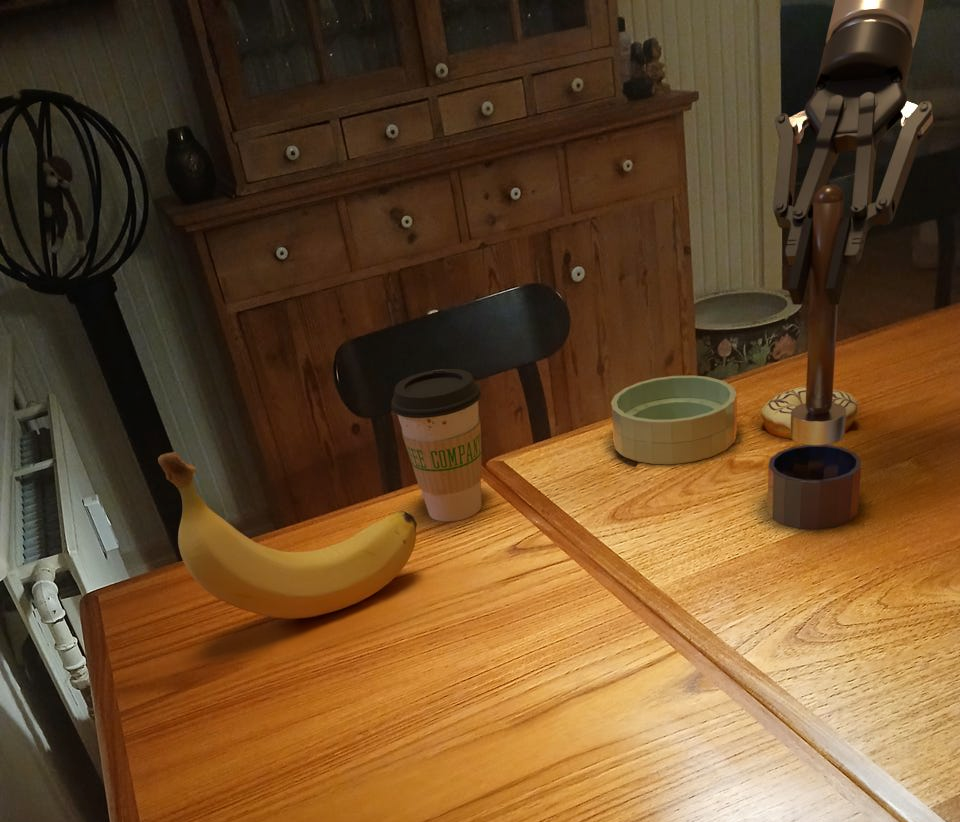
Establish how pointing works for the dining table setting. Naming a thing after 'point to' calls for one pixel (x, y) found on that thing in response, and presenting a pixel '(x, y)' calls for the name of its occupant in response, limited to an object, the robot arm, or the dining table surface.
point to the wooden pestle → (821, 332)
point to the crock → (814, 486)
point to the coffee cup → (443, 439)
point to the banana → (284, 559)
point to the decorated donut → (783, 403)
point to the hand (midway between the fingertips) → (813, 296)
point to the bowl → (674, 419)
